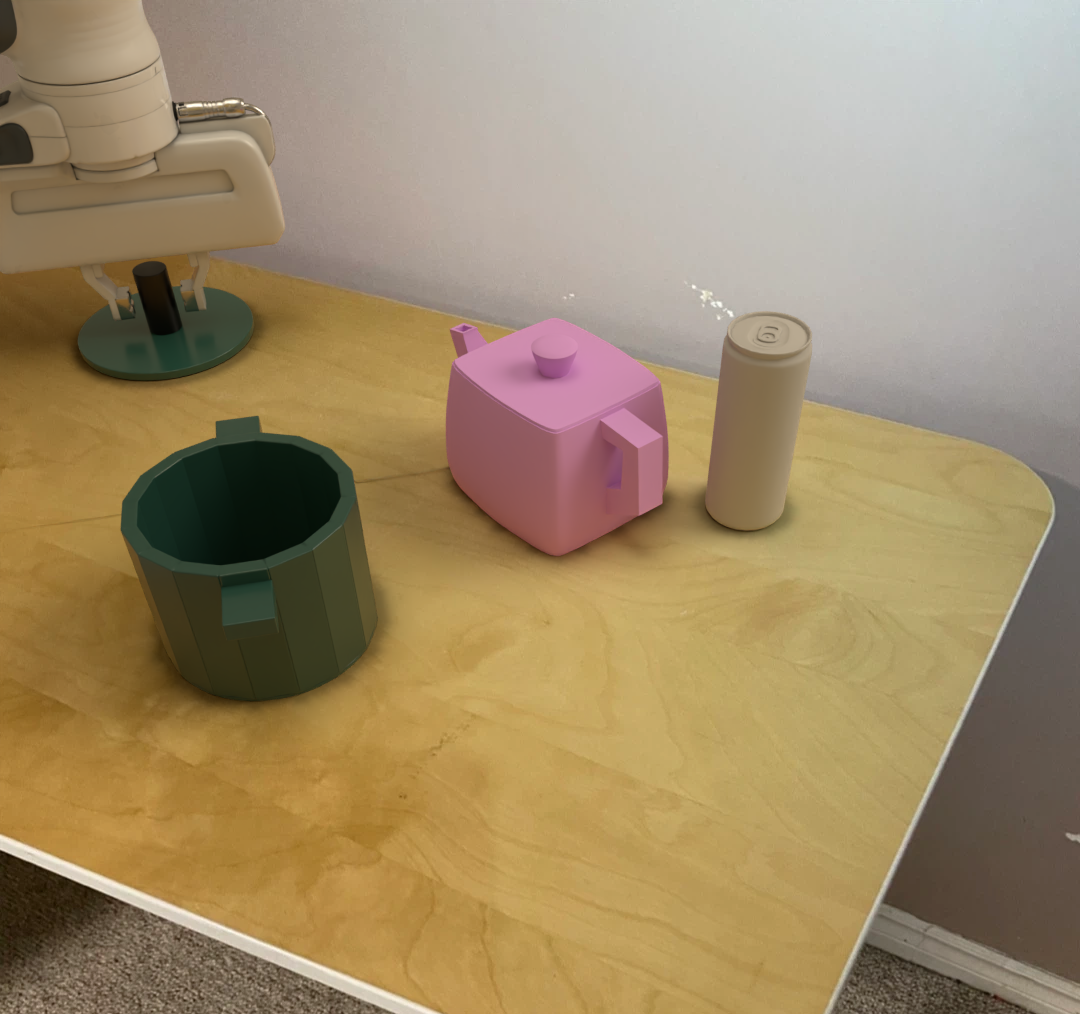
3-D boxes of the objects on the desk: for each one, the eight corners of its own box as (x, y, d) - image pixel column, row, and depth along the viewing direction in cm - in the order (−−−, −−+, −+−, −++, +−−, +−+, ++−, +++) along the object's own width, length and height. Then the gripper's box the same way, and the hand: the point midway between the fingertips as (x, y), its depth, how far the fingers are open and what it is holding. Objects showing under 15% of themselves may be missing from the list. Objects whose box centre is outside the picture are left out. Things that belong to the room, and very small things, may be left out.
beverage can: (695, 527, 68) (715, 347, 59) (713, 482, 71) (735, 304, 62) (774, 542, 67) (806, 361, 58) (789, 495, 70) (821, 316, 61)
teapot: (403, 457, 74) (384, 311, 66) (528, 399, 78) (524, 256, 70) (580, 597, 64) (581, 446, 56) (711, 523, 68) (729, 373, 61)
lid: (77, 398, 79) (49, 323, 75) (87, 310, 87) (63, 239, 83) (259, 375, 81) (242, 300, 76) (252, 291, 89) (236, 219, 85)
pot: (167, 759, 56) (113, 630, 50) (170, 549, 68) (126, 420, 61) (395, 721, 58) (372, 591, 51) (361, 521, 69) (339, 393, 62)
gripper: (263, 77, 75) (300, 275, 86) (-54, 107, 73) (23, 307, 83) (268, 112, 71) (306, 315, 81) (-68, 145, 69) (15, 350, 79)
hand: (161, 312), depth 82 cm, fingers open, 4 cm apart
